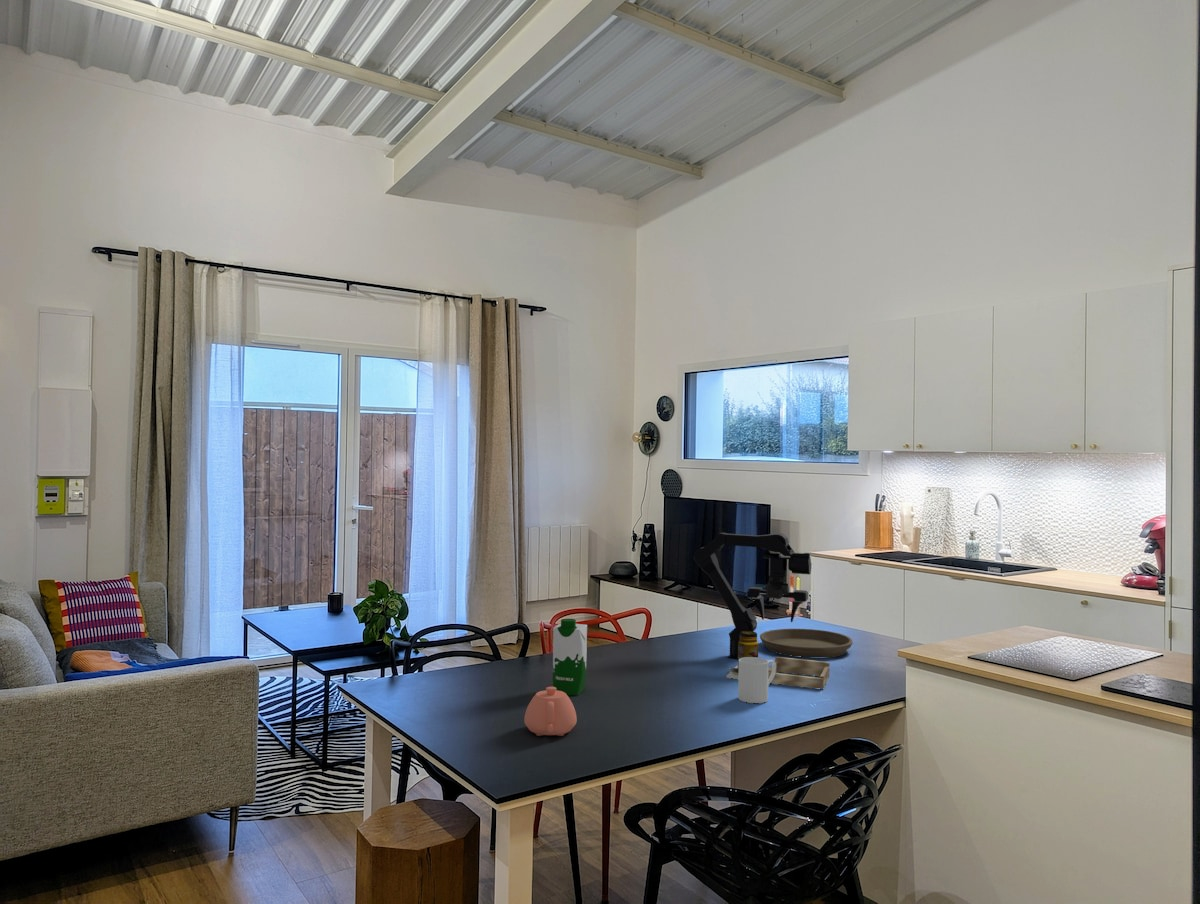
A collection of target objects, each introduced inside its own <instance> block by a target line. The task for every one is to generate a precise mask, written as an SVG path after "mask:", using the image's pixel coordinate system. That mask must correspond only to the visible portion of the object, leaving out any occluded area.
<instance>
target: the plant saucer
mask: <svg viewBox="0 0 1200 904" xmlns="http://www.w3.org/2000/svg"><path fill="white" fill-rule="evenodd" d="M759 638H760V641H761V642H762V644H763V645H765V646H766V648H767V650H769V651H771V650H772V651H771V652H773V651H774V652H773V653H775V652H777V653H776V654H779V653H781V654H780V655H783V654H786V655H785V656H788V655H792V656H791V657H794V656H801V657H800V658H802V657H831V658H835V657H834V656H837V657H840V655H841V656H843V655H844V654H846V652H847V651H848V650H849V649H850V648H851V647H852V645H853V644H854V643H853V639H852V638H851V637H850V636H848V635H845V634H842V633H839V632H835V631H829V630H823V629H821V630H820V629H813V628H778V629H771V630H768V631H764V632H762V633H760V635H759Z"/></svg>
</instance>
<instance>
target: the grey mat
mask: <svg viewBox="0 0 1200 904" xmlns="http://www.w3.org/2000/svg"><path fill="white" fill-rule="evenodd" d="M734 668H738V665H736V666H735V667H734ZM738 676H739V675H734V674H733V673H732V672H731V671H729V672H728V673H727V675H725V678H726V679H731V678H733V680H738Z"/></svg>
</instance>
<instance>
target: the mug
mask: <svg viewBox="0 0 1200 904" xmlns="http://www.w3.org/2000/svg"><path fill="white" fill-rule="evenodd" d="M774 661H775V660H773V659H765V658H762V657H758V658H756V657H745V658H740V659H739V676H738V679H737V680H738V681H737V683H738V684H737V687H738V688H737V689H738V690H737V693H738V694H737V697H738V700H739V701H741V702H743V703H746V702H747V704H753V703H759V704H765V703H767V702H768V700H769V685H770V683H771V682H772V680H773V678H774V676H775V673H776V663H775V662H774ZM770 663H771V665H772V672H771V675H770V677H769V679H768V669H769V664H770ZM764 702H765V703H764Z"/></svg>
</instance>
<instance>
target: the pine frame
mask: <svg viewBox="0 0 1200 904" xmlns="http://www.w3.org/2000/svg"><path fill="white" fill-rule="evenodd" d="M773 661H774V662H775V663H776V673H775V676H774V678H773V680H772V682H771V683H775V684H774V685H778V684H782V685H781V686H786V685H791V686H790V687H795V686H800V687H799V688H803V687H810V688H809V689H812V688H820V689H823V688H824V689H825V687H826V685H827V683H828V681H829V679H830V664H831V663H830V661H829V662H828V661H819V660H814V659H804V658H793V657H784V656H775V657H774V660H773ZM771 672H772V664H771V665H770V666H769V667H768V679H769V677H770V675H771ZM779 672H784V673H779ZM788 673H794V674H788ZM797 674H805V675H797ZM806 675H815V676H820V677H815V676H806ZM828 678H829V679H828ZM827 680H828V681H827ZM826 682H827V683H826ZM825 684H826V685H825ZM824 686H825V687H824ZM820 689H819V690H820ZM824 689H823V690H824Z"/></svg>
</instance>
